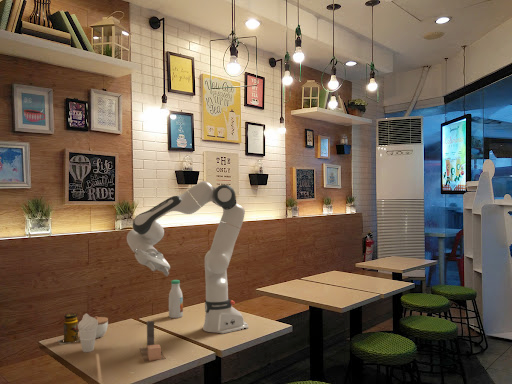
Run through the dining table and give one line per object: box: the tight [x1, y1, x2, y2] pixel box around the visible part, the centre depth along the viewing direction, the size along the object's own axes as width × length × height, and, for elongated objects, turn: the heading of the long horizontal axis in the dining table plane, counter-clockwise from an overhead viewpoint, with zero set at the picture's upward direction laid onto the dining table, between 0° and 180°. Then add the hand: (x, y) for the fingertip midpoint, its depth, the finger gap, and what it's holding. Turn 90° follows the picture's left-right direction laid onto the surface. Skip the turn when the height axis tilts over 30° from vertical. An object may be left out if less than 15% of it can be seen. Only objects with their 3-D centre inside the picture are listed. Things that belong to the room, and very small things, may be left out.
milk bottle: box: [168, 279, 184, 319], centre depth 234 cm, size 8×8×20 cm
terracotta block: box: [148, 343, 162, 362], centre depth 167 cm, size 4×4×4 cm
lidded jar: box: [94, 315, 109, 339], centre depth 201 cm, size 11×11×9 cm
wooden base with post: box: [139, 320, 167, 363], centre depth 172 cm, size 17×8×13 cm, turn 23°
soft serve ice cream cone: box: [78, 313, 98, 353], centre depth 181 cm, size 8×8×16 cm
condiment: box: [57, 313, 81, 346], centre depth 195 cm, size 7×8×12 cm
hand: (161, 272), depth 194 cm, fingers open, 8 cm apart
